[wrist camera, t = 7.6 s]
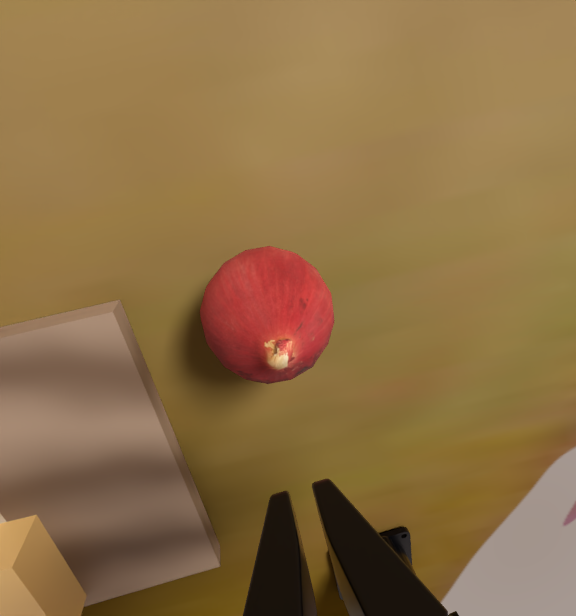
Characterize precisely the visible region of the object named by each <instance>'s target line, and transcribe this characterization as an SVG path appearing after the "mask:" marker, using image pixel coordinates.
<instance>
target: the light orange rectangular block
mask: <svg viewBox="0 0 576 616" xmlns="http://www.w3.org/2000/svg"><path fill="white" fill-rule="evenodd" d="M86 596H87V595H86V593H85V592H84V590H83V588H82V587H81V585H80V584H79V582H78V580H77V579H76V577H75V576H74V574H73V572H72V571H71V569H70V568H69V566H68V564H67V563H66V561H65V560H64V558H63V556H62V555H61V553H60V551H59V550H58V548H57V547H56V545H55V543H54V542H53V540H52V539H51V537H50V535H49V534H48V532H47V531H46V529H45V527H44V526H43V524H42V523H41V521H40V519H39V518H38V516H37V515H34V516H29V517H25V518H21V519H17V520H13V521H9V522H5V523H1V524H0V616H81V614H82V610H83V607H84V603H85V600H86Z"/></svg>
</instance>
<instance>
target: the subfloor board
mask: <svg viewBox="0 0 576 616" xmlns="http://www.w3.org/2000/svg"><path fill="white" fill-rule="evenodd" d="M34 515H37V516H38V518H39V519H40V521H41V523H42V524H43V526H44V527H45V529H46V531H47V532H48V534H49V535H50V537H51V539H52V540H53V542H54V543H55V545H56V547H57V548H58V550H59V551H60V553H61V555H62V556H63V558H64V560H65V561H66V563H67V564H68V566H69V568H70V569H71V571H72V572H73V574H74V576H75V577H76V579H77V580H78V582H79V584H80V585H81V587H82V588H83V590H84V592H85V593H86V595H87V596H86V600H85V603H84V607H85V606H88V605H92V604H95V603H99V602H102V601H105V600H109V599H112V598H115V597H119V596H122V595H125V594H129V593H132V592H136V591H139V590H142V589H146V588H149V587H152V586H156V585H159V584H162V583H166V582H169V581H173V580H176V579H179V578H183V577H186V576H189V575H193V574H196V573H199V572H203V571H206V570H210V569H213V568H216V567H220V544H219V542H218V539H217V537H216V535H215V532H214V530H213V527H212V525H211V522H210V520H209V517H208V515H207V512H206V510H205V508H204V505H203V503H202V500H201V498H200V495H199V493H198V490H197V488H196V485H195V483H194V481H193V478H192V476H191V473H190V471H189V468H188V466H187V463H186V461H185V458H184V456H183V453H182V451H181V449H180V446H179V444H178V441H177V439H176V436H175V434H174V431H173V429H172V426H171V424H170V422H169V419H168V417H167V414H166V412H165V409H164V407H163V404H162V402H161V399H160V397H159V395H158V392H157V390H156V387H155V385H154V382H153V380H152V377H151V375H150V372H149V370H148V368H147V365H146V363H145V360H144V358H143V355H142V353H141V350H140V348H139V345H138V343H137V341H136V338H135V336H134V333H133V331H132V328H131V326H130V323H129V321H128V318H127V316H126V314H125V311H124V309H123V306H122V304H121V301H120V300H117V301H112V302H108V303H104V304H99V305H95V306H91V307H86V308H82V309H78V310H73V311H69V312H65V313H60V314H56V315H52V316H47V317H43V318H39V319H34V320H30V321H26V322H21V323H17V324H13V325H8V326H4V327H0V524H1V523H5V522H9V521H13V520H17V519H21V518H25V517H29V516H34Z"/></svg>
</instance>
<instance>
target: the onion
mask: <svg viewBox="0 0 576 616" xmlns="http://www.w3.org/2000/svg"><path fill="white" fill-rule="evenodd" d="M200 316H201V322H202V326H203V330H204V334H205V338H206V342H207V344H208V346H209V347H210V349H211V350H212V351H213V353H214V354H215V355H216V356H217V358H218V359H219V360H220V362H221V363H222V364H223V366H224V367H226V368H227V369H229V370H231V371H232V372H234V373H236V374H237V375H239V376H241V377H242V378H244V379H247V380H251V381H256V382H261V383H266V384H269V383H275V382H281V381H286V380H291V379H293V378H295V377H296V376H298V375H300V374H301V373H303V372H305V371H306V370H308V369H310V368H311V367H313V365H314V364H315V362H316V360H317V359H318V358H319V356H320V355H321V353H322V352H323V350H324V349H325V347H326V346H327V345H328V342H329V338H330V335H331V331H332V328H333V324H334V314H333V305H332V297H331V293H330V291H329V289H328V288H327V286H326V284H325V283H324V281H323V279H322V278H321V276H320V274H319V273H318V271H317V269H316V268H315V267H313V266H312V265H311V264H309V263H308V262H307V261H305V260H304V259H303V258H301V257H300V256H299V255H297V254H296V253H293V252H291V251H287V250H283V249H279V248H275V247H271V246H267V247H262V248H256V249H250V250H245V251H243V252H242V253H240V254H238V255H237V256H235V257H233V258H232V259H230V260H228V261H227V262H225V263H224V264H223V265H222V266H221V268H220V269H219V270H218V272H217V273H216V274H215V275H214V277H213V278H212V279H211V281H210V282H209V284H208V285H207V287H206V289H205V293H204V297H203V301H202V305H201V309H200Z"/></svg>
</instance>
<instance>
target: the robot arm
mask: <svg viewBox="0 0 576 616" xmlns="http://www.w3.org/2000/svg"><path fill="white" fill-rule="evenodd" d="M312 489H313V493H314V497H315V501H316V505H317V509H318V513H319V517H320V521H321V524H322V528H323V532H324V535H325V539H326V543H327V546H328V550H329V554H330V557H331V561H332V565H333V569H334V574H335V578H336V583H337V588H338V593H339V596H340V599H342V600H344V603H345V605H346V608H347V611H348V613H349V616H459V615H458V614H457V612H456V611H455V612H453V613H450V614H449V615H448V611H447V610H446V609H445V608H444V606H442V604H441V603H440V602H439V601H438V600H437V599H436V597H435V596H434V595H433V594H432V593H431V592H430V591H429V590H428V589H427V587H426V586H425V585H424V584H423V583H422V582H421V581H420V580H419V578H418V577H417V576H416V574H415V572H414V569H413V567H412V558H411V542H410V533H409V531H408V529H407V528H406V527H401V528H398V529H395V530H392V531H388V532H385V533H382V534H378V533H377V531H376V530H375V529H374V528H373V527H372V526H371V525H370V524H369V522H368V521H367V520H366V519H365V518H364V517H363V516H362V515H361V514H360V512H359V511H358V510H357V509H356V508H355V507H354V506H353V505H352V503H351V502H350V501H349V500H348V499H347V498H346V497H345V496H344V495H343V493H342V492H341V491H340V490H339V489H338V488H337V487H336V486H335V484H334V483H333V482H332V481H331V480H329V479H323V480H320V481H317V482H314V483H313V484H312ZM243 616H317V611H316V604H315V598H314V593H313V588H312V583H311V579H310V575H309V571H308V566H307V562H306V558H305V553H304V549H303V545H302V541H301V536H300V532H299V528H298V524H297V519H296V515H295V512H294V508H293V505H292V501H291V497H290V494H289V492H288V491H283V492H279V493H276V494H273V495H272V496H271V497H270V500H269V504H268V509H267V513H266V517H265V522H264V526H263V530H262V535H261V539H260V543H259V548H258V552H257V556H256V561H255V565H254V570H253V574H252V578H251V583H250V587H249V591H248V596H247V600H246V604H245V609H244V613H243Z"/></svg>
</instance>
